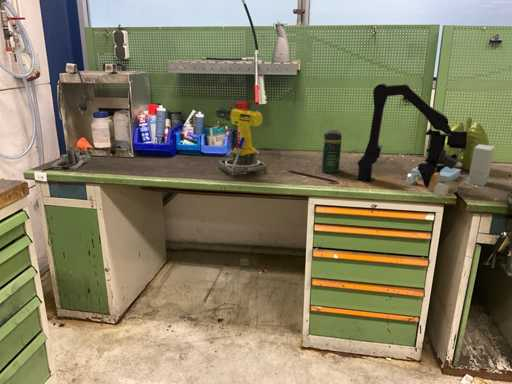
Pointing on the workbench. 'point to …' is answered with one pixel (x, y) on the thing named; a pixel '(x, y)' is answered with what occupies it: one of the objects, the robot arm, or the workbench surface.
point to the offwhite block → (441, 189)
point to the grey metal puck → (412, 178)
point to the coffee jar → (331, 151)
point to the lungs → (468, 142)
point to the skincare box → (481, 164)
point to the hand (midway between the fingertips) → (430, 184)
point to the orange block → (433, 181)
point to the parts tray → (443, 174)
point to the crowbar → (315, 177)
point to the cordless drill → (242, 141)
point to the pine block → (451, 186)
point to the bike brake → (71, 160)
